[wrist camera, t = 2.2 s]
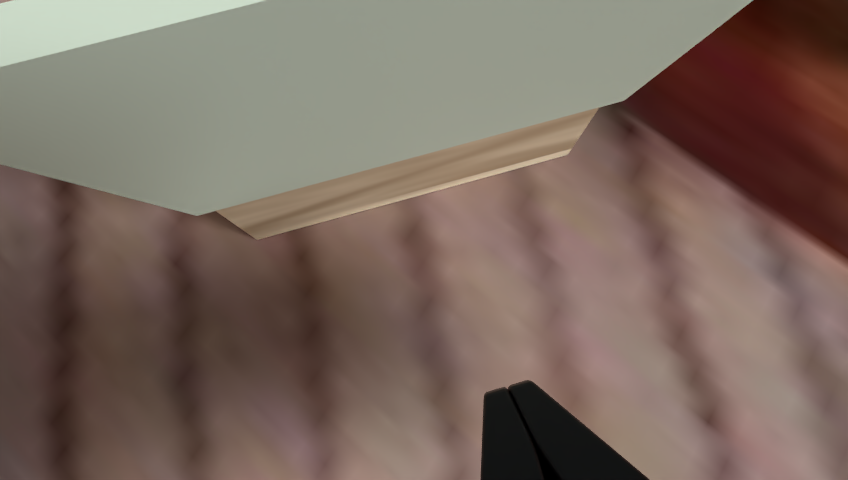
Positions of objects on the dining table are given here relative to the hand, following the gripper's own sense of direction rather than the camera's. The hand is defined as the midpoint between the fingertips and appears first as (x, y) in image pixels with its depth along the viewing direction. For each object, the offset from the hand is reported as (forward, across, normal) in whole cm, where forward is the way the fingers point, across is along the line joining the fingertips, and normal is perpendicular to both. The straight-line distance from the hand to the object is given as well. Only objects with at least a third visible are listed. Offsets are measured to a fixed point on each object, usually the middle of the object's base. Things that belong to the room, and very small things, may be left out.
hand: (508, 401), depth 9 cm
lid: (+4, 0, -5) cm, 7 cm away
